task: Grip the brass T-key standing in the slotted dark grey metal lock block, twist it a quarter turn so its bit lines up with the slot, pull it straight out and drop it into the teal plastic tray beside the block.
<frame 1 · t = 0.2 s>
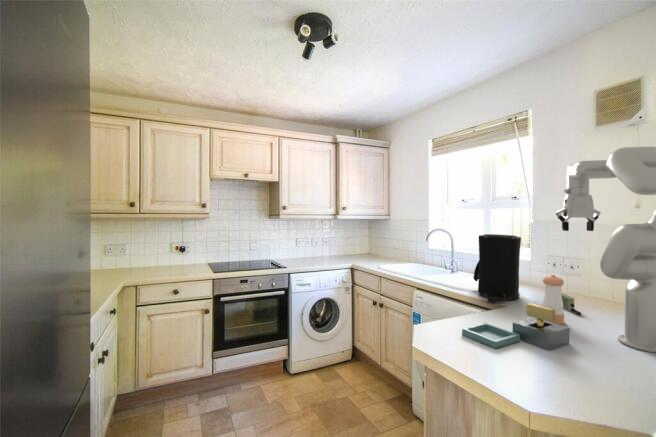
hand: (577, 230, 132), 37 cm above the table, tool pointing down, fingers open, 9 cm apart
lock block: (540, 340, 105), on the table
handheld radio: (563, 308, 143), on the table
black backpack: (492, 295, 165), on the table
pepper shaker: (553, 321, 124), on the table
t key: (540, 323, 105), in the lock block
tray: (490, 338, 107), on the table
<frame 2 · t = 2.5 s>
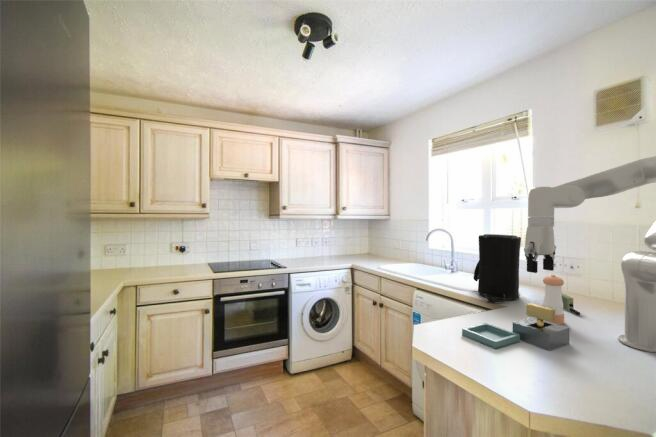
hand: (540, 271, 105), 24 cm above the table, tool pointing down, fingers open, 9 cm apart
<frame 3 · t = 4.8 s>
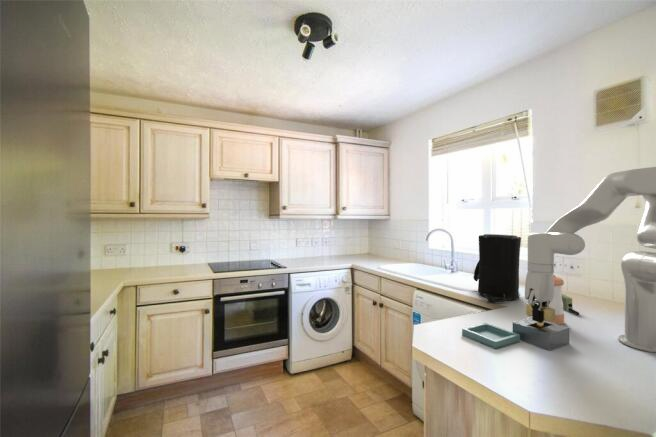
hand: (540, 320, 105), 7 cm above the table, tool pointing down, fingers closed on t key, 2 cm apart
t key: (540, 323, 105), in the lock block, touching gripper
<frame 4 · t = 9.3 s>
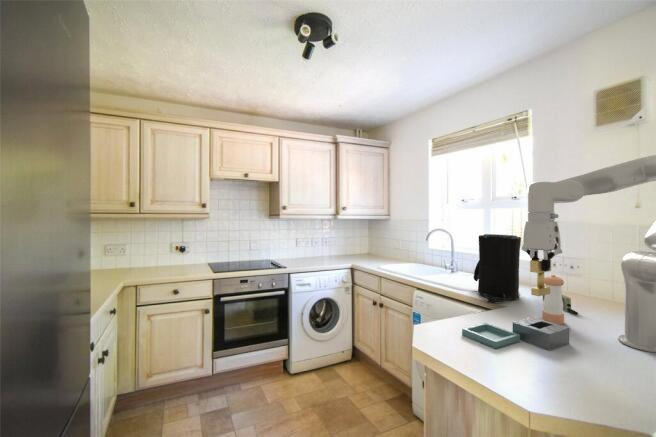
hand: (540, 269, 105), 25 cm above the table, tool pointing down, fingers closed on t key, 2 cm apart
t key: (540, 277, 105), point 22 cm above the table, touching gripper
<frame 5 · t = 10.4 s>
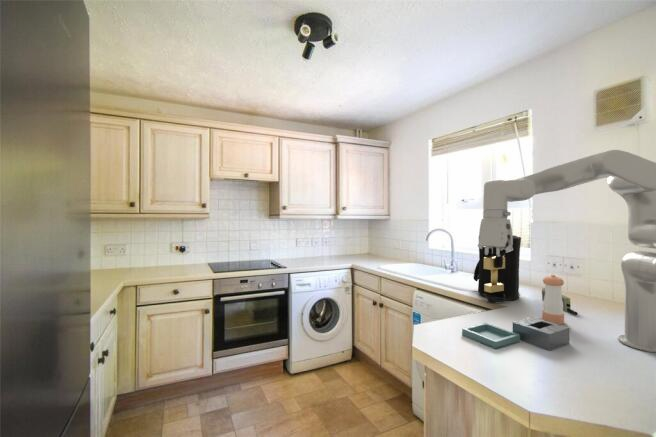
hand: (494, 266, 106), 26 cm above the table, tool pointing down, fingers closed on t key, 2 cm apart
t key: (494, 274, 106), point 23 cm above the table, touching gripper
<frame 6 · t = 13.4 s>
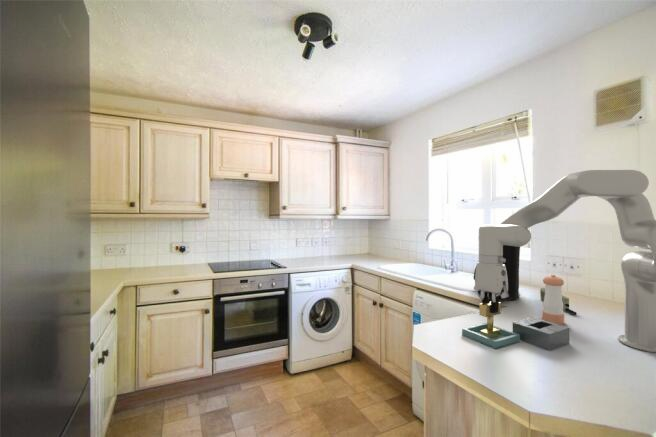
hand: (490, 310, 106), 10 cm above the table, tool pointing down, fingers closed on t key, 2 cm apart
t key: (490, 320, 106), in the tray, point 7 cm above the table, touching gripper
when the fingers open (10 cm above the table, at t = 13.8 s): t key stays where it is, resting on tray.
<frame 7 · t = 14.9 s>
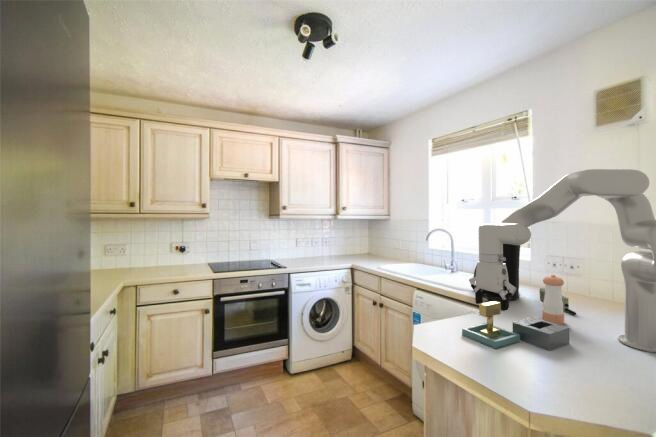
hand: (491, 306, 106), 11 cm above the table, tool pointing down, fingers open, 9 cm apart
t key: (489, 320, 106), in the tray, point 7 cm above the table
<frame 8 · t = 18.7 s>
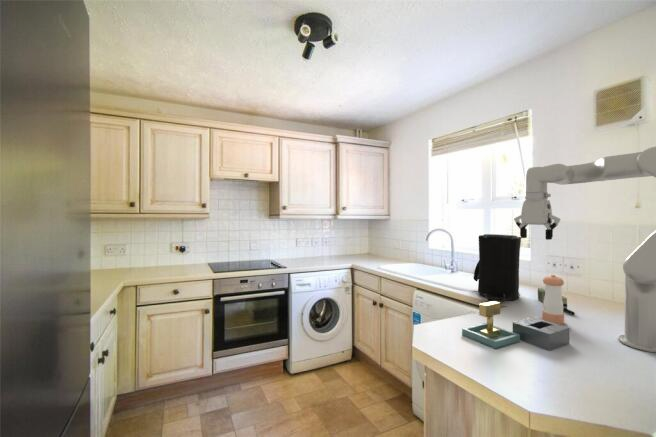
hand: (535, 238, 124), 34 cm above the table, tool pointing down, fingers open, 9 cm apart
at the end: t key inside the target area on the tray (0.1 cm from its centre), point 6.6 cm above the tray's base; the gripper is holding nothing; t key moved 16.8 cm from its start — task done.
